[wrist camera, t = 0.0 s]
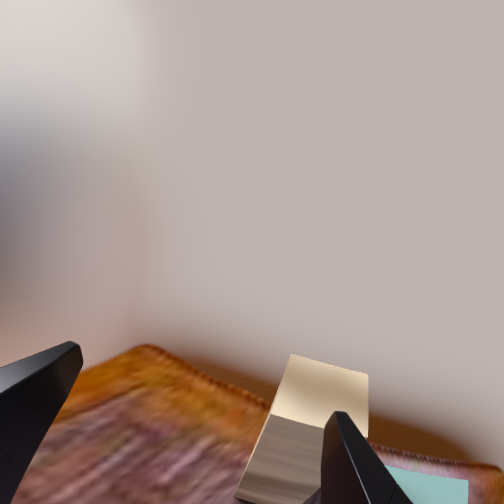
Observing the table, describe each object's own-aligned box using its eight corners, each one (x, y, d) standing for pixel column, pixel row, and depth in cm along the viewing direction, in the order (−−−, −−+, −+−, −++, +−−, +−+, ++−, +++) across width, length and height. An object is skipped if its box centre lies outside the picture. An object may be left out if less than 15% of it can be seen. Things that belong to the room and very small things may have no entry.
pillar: (291, 512, 16) (367, 437, 11) (233, 496, 17) (270, 413, 12) (304, 468, 20) (368, 374, 16) (251, 453, 21) (291, 353, 17)
